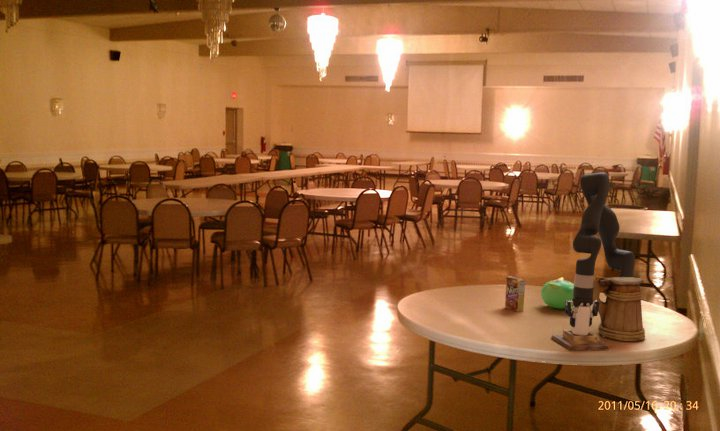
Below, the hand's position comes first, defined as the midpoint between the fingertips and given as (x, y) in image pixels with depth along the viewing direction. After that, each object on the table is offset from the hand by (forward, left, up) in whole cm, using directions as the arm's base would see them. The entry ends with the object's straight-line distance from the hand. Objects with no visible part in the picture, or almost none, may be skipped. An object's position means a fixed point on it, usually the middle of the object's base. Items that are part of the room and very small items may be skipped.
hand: (580, 326), depth 279 cm
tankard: (-22, -10, -8) cm, 25 cm away
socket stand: (0, 0, -7) cm, 7 cm away
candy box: (+4, -55, -7) cm, 56 cm away
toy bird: (-20, -56, -7) cm, 60 cm away
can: (0, 0, -3) cm, 3 cm away
